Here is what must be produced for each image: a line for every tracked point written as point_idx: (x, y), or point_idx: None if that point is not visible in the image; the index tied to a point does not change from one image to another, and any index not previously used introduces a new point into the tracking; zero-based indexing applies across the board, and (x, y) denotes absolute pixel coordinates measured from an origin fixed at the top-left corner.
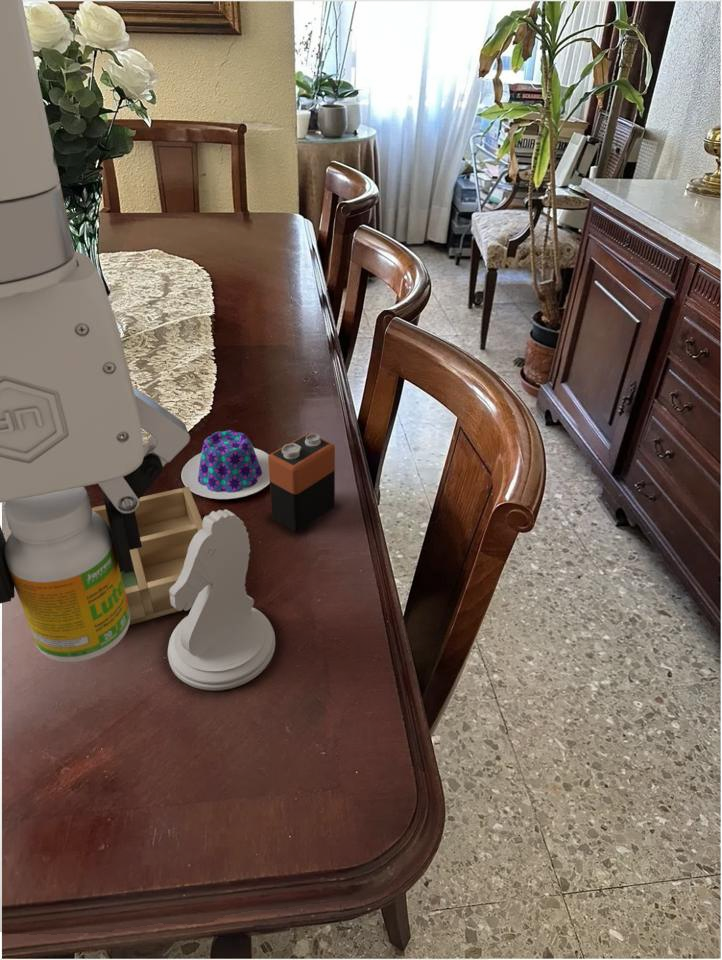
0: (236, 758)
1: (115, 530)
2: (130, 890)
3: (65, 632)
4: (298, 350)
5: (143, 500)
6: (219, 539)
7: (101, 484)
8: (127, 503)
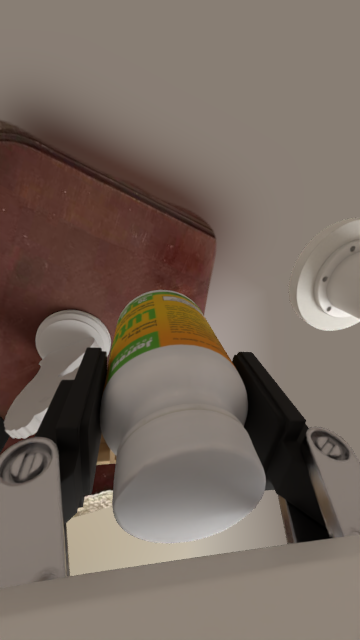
0: (86, 261)
1: (82, 405)
2: (163, 213)
3: (185, 307)
4: None
5: (97, 461)
6: (31, 409)
7: (56, 544)
8: (28, 462)
